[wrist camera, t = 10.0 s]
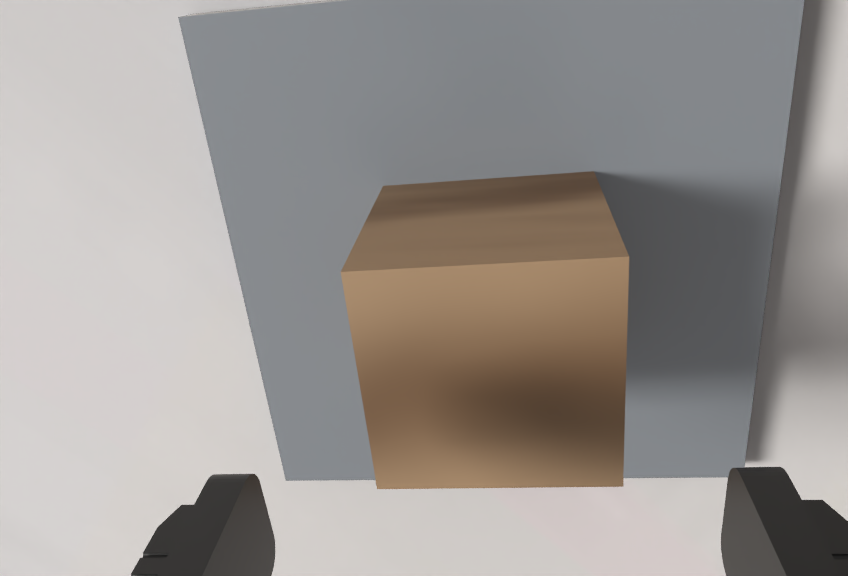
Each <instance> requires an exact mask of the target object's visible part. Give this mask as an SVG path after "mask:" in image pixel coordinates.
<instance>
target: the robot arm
mask: <svg viewBox="0 0 848 576" xmlns="http://www.w3.org/2000/svg"><path fill="white" fill-rule="evenodd" d="M721 550H722V559H723V564H724V569H725V572H726V576H848V521H847V520H845V519H844V518H843V517H842V516H841V515H840V514H838V513H837V512H836V511H835V510H834V509H832V508H831V507H830V506H829V505H828V504H827V503H825V502H824V501H823V500H801V498H800V496H799V494H798V492H797V490H796V489H795V487H794V485H793V483H792V481H791V479H790V478H789V476H788V474H787V473H786V471H785V470H784V469H783V468H781V467H745V468H732V469H731V470H730V472H729V476H728V483H727V491H726V500H725V508H724V516H723V525H722V533H721ZM274 560H275V539H274V534H273V530H272V527H271V523H270V519H269V515H268V511H267V508H266V504H265V500H264V496H263V492H262V489H261V485H260V481H259V479H258V477H257V476H256V475H255V474H218V475H212V476H211V477H210V478H209V479H208V480H207V482H206V484H205V486H204V487H203V489H202V491H201V493H200V495H199V497H198V499H197V501H196V503H195V504H194V505H181V506H180V507H179V508H178V509H177V510H176V511H175V512H174V513H172V514H171V515H170V516H169V517H168V518H167V519H166V520H165V521H164V522H163V523H162V524H161V525H160V526H159V527H158V528H157V529H156V531H155V533H154V535H153V536H152V538H151V540H150V542H149V544H148V545H147V547H146V549H145V551H144V552H143V558H140V559H139V561H138V563H137V565H136V566H135V568H134V570H133V572H132V573H131V576H271V575H272V571H273V567H274Z"/></svg>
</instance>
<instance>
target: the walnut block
mask: <svg viewBox="0 0 848 576" xmlns="http://www.w3.org/2000/svg"><path fill="white" fill-rule="evenodd" d="M341 277H342V283H343V289H344V295H345V301H346V307H347V313H348V319H349V325H350V331H351V337H352V343H353V348H354V354H355V360H356V366H357V372H358V378H359V384H360V390H361V396H362V402H363V408H364V414H365V420H366V426H367V431H368V437H369V443H370V449H371V455H372V461H373V467H374V473H375V479H376V485H377V489H429V488H524V487H619V486H623V472H624V435H625V397H626V359H627V322H628V284H629V255H628V252H627V250H626V248H625V245H624V243H623V240H622V238H621V235H620V233H619V231H618V228H617V226H616V223H615V221H614V219H613V216H612V214H611V211H610V209H609V206H608V204H607V202H606V199H605V197H604V194H603V192H602V190H601V187H600V185H599V182H598V180H597V177H596V175H595V173H594V171H590V172H575V173H561V174H546V175H532V176H518V177H503V178H489V179H474V180H460V181H446V182H431V183H417V184H402V185H388V186H383V187H382V189H381V191H380V193H379V195H378V197H377V199H376V201H375V203H374V205H373V207H372V209H371V211H370V213H369V215H368V217H367V219H366V221H365V223H364V225H363V227H362V229H361V232H360V234H359V236H358V238H357V240H356V242H355V244H354V246H353V248H352V250H351V252H350V254H349V256H348V258H347V260H346V262H345V264H344V266H343V268H342V270H341Z"/></svg>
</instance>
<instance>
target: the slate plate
mask: <svg viewBox="0 0 848 576" xmlns="http://www.w3.org/2000/svg"><path fill="white" fill-rule="evenodd" d="M803 8H804V0H327V1H317V2H307V3H297V4H287V5H277V6H267V7H257V8H247V9H237V10H227V11H217V12H207V13H197V14H190V15H186V16H181V17H178V18H179V22H180V26H181V31H182V35H183V39H184V44H185V48H186V52H187V57H188V61H189V65H190V69H191V74H192V78H193V82H194V87H195V91H196V95H197V100H198V104H199V108H200V113H201V117H202V121H203V125H204V130H205V134H206V138H207V143H208V147H209V151H210V156H211V160H212V164H213V168H214V173H215V177H216V181H217V186H218V190H219V194H220V199H221V203H222V207H223V212H224V216H225V220H226V224H227V229H228V233H229V237H230V242H231V246H232V250H233V255H234V259H235V263H236V268H237V272H238V276H239V280H240V285H241V289H242V293H243V298H244V302H245V306H246V311H247V315H248V319H249V323H250V328H251V332H252V336H253V341H254V345H255V349H256V354H257V358H258V362H259V367H260V371H261V375H262V379H263V384H264V388H265V392H266V397H267V401H268V405H269V410H270V414H271V418H272V423H273V427H274V431H275V435H276V440H277V444H278V448H279V453H280V457H281V461H282V466H283V470H284V474H285V479H286V481H293V480H376V479H375V473H374V467H373V461H372V455H371V449H370V443H369V437H368V431H367V426H366V420H365V414H364V408H363V402H362V396H361V390H360V384H359V378H358V372H357V366H356V360H355V354H354V348H353V343H352V337H351V331H350V325H349V319H348V313H347V307H346V301H345V295H344V289H343V283H342V277H341V270H342V268H343V266H344V264H345V262H346V260H347V258H348V256H349V254H350V252H351V250H352V248H353V246H354V244H355V242H356V240H357V238H358V236H359V234H360V232H361V229H362V227H363V225H364V223H365V221H366V219H367V217H368V215H369V213H370V211H371V209H372V207H373V205H374V203H375V201H376V199H377V197H378V195H379V193H380V191H381V189H382V187H383V186H388V185H402V184H417V183H431V182H446V181H460V180H474V179H489V178H503V177H518V176H532V175H546V174H561V173H575V172H590V171H594V173H595V175H596V177H597V180H598V182H599V185H600V187H601V190H602V192H603V194H604V197H605V199H606V202H607V204H608V206H609V209H610V211H611V214H612V216H613V219H614V221H615V223H616V226H617V228H618V231H619V233H620V235H621V238H622V240H623V243H624V245H625V248H626V250H627V252H628V255H629V284H628V322H627V359H626V397H625V435H624V472H623V478H690V477H728V476H729V472H730V470H731V469H732V468H744V466H745V458H746V450H747V442H748V435H749V427H750V419H751V411H752V404H753V396H754V388H755V380H756V373H757V365H758V357H759V349H760V341H761V334H762V326H763V318H764V310H765V303H766V295H767V287H768V279H769V272H770V264H771V256H772V248H773V241H774V233H775V225H776V217H777V210H778V202H779V194H780V186H781V178H782V171H783V163H784V155H785V147H786V140H787V132H788V124H789V116H790V109H791V101H792V93H793V85H794V78H795V70H796V62H797V54H798V47H799V39H800V31H801V23H802V15H803Z"/></svg>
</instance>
